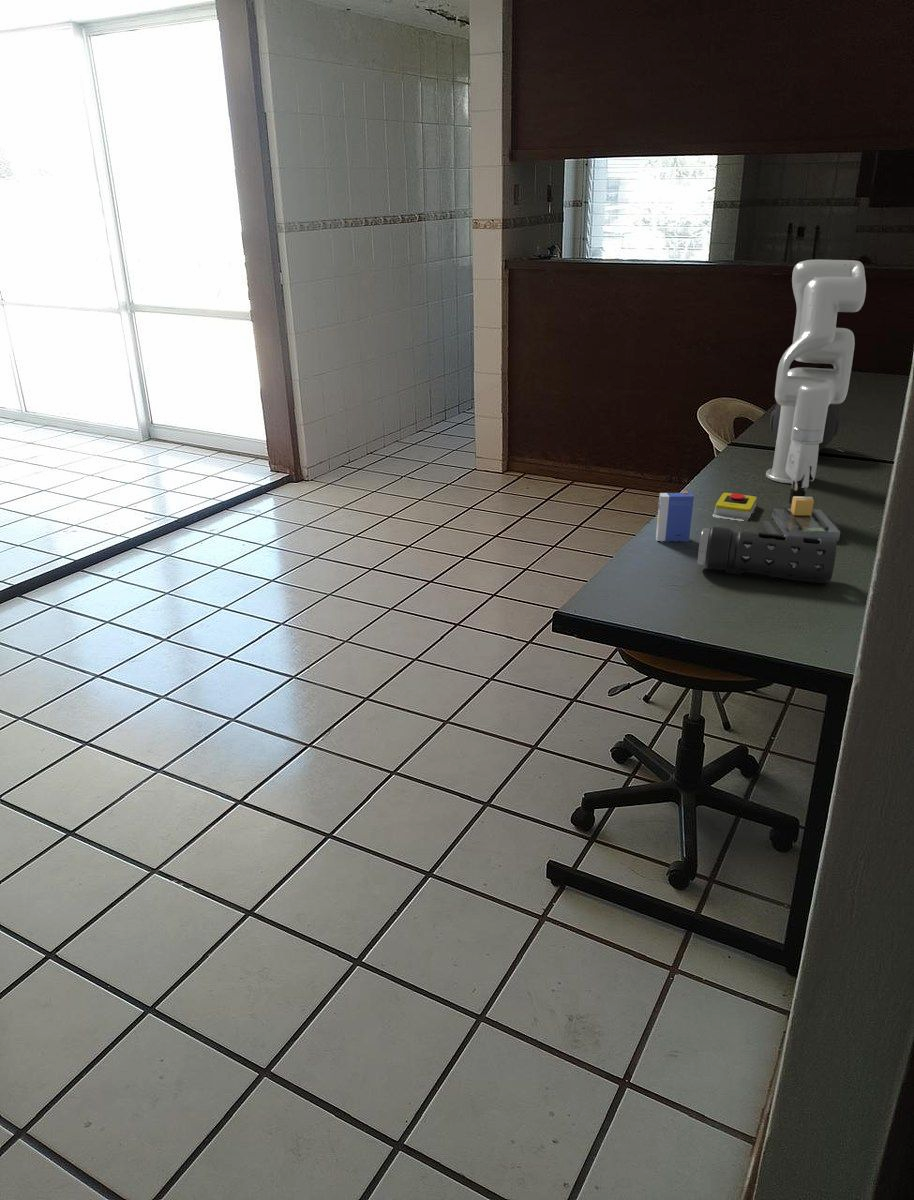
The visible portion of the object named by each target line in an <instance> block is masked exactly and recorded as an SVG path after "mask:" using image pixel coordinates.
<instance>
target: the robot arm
mask: <svg viewBox="0 0 914 1200" xmlns="http://www.w3.org/2000/svg"><path fill="white" fill-rule="evenodd" d="M865 273H866V271H865V267H864V264H863V263H862V262H861V261H859V260H850V259H849V260H848V259H807V260H803V261H799V262H798V263H796V264H795V265H794V267H793V270H792V275H791V276H792V277H791V283H792V284H791V286H792V291H793V297H794V300H795V304H796V306H795V307H796V316H795V322H794V323H795V324H794V329H793V336H792V344H791V345H790V346H789V347H788V348H787V349H786V350H785V351H784V352H783V354H782V356H781V358H780V360H779V363H778V366H777V370H776V379H775V387H774V398H775V402H776V404H777V403H778V404H779V405H781V412H780V420H779V427H778V434H777V441H776V440H775V441H776V442H775V449H774V455H773V461H772V468H768V469H767V470H766V472H765V477H766V478H767V479H769V480H771V481H774V482H777V483H782V484H783V483H784V484H791V487H790V493H789V499H788V503H789V504H790V506H791V505H792V499H793V496H806V492H807V489H808V488H809V485H810V483H812V482H813V481H815V478H816V472H817V468H818V467H817V466H818V458H819V451H820V450H819V443H821V442H822V441H823V435H824V428H825V423H826V416H827V411H828V406H829V405H830V404H837V405H839V404H840V405H841V404H842V403H843V402H844V401H845V400H846V397H847V395H848V391H849V386H850V380H851V374H852V367H853V359H854V351H855V345H856V343H855V341H856V340H855V335H854V332H853V331H852V330H851V329H849V328H846V327H837V318H838V313H856V312H859V311H860V310H862V307H863V306H864V303H865V299H866V294H867V293H866V292H867V281H866V274H865ZM794 360H795V361H797V362H801V363H808V364H810V363H811V364H825V365H826V364H827V365H829V364H830V365H832V366H833V368H818V367H793V368H790V366H791V364H792V362H793V361H794Z"/></svg>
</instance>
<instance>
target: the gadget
mask: <svg viewBox="0 0 914 1200" xmlns="http://www.w3.org/2000/svg"><path fill="white" fill-rule="evenodd" d="M780 412H781V405H779V404H778V403H777V402H776V404H775V406H774V409H773V410H772V411H771V413H770V421H769V428H770V430H771V432H772V436H773V437H774V440H775V441H777V434H778V427H779V420H780ZM841 421H842V417H841V415H840V410H839V406H838V404H830V405H829V406H828V411H827V416H826V422H825V428H824V435H823V441H822V442H821V443H819V450H818V451H820V450H823V449H824V448H826V446H828V445H829V444H830V443H831V442H832V441H833V439H834V437H835V436H837V434H839V431H840V430H839V429H840V425H841Z"/></svg>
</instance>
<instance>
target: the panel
mask: <svg viewBox="0 0 914 1200" xmlns="http://www.w3.org/2000/svg"><path fill="white" fill-rule="evenodd" d="M771 511H772V512H771V517H772V518H773V519H774V521H775V522H776V524H777V525H778V526H779V528H780V529H781V530H780V529H779V528H778V529H779V530H780V532H781V531H782V532H783V533H782V532H781V533H782V535H783V534H784V535H789V536H798V537H808V538H817V539H827V540H835V541H836V543H837V542H839V541H840V536H841V530H839V529H837V528H836V527H835V525H834V524H833V523H832V522H831V521H830V520H829V519H828V518H827V517H826V516H827V515H826V514H825V513H824V512H823V511H822V510H821V509H820V508H819V509H815V508H813V510H812V516H810V515H793V514H792V512H791V508H772V510H771ZM772 518H771V519H772ZM774 521H773V522H774ZM775 522H774V523H775ZM776 524H775V525H776ZM777 525H776V526H777ZM778 526H777V527H778Z"/></svg>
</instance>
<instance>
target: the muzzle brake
mask: <svg viewBox="0 0 914 1200" xmlns="http://www.w3.org/2000/svg"><path fill="white" fill-rule="evenodd" d="M698 545H699V546H698V554H697V564H698V565H701V566H704V567H705V568H706V569H711V570H719V571H725V574H735V575H740V576H741V575H742V574H743V573H751V574H759V575H766V576H767V575H768V577H769V578H781V579H782V580H788V581H789V580H791V581H799V582H806V583H814V584H824V585H826V584H828V582H831V580H832V578H833V573H834V569H835V562H836V555H837V554H836V553H837V542H836V541H835V540H827V539H817V538H808V537H798V536H789V535H783V534H779V533H778V534H770V533H767V532H761V531H759V532H758V531H749V530H738V531H733V529H732V528H730V527H725V526H716V525H715V526H714V525H713V526H710V527H709V528H707V527H706V528H702V529H701V533H700V539H699V544H698ZM768 546H769V547H773V548H772V549H770V548H769V547H768ZM796 549H797V550H796ZM793 550H796V551H793ZM818 552H821V553H820V554H819V553H818ZM768 561H770V562H768ZM792 564H793V565H792ZM817 566H819V567H817Z"/></svg>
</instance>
